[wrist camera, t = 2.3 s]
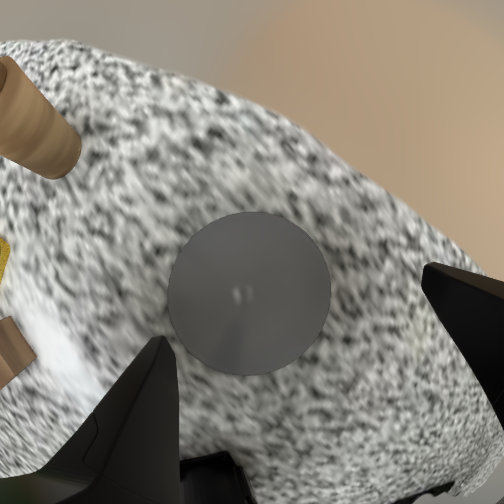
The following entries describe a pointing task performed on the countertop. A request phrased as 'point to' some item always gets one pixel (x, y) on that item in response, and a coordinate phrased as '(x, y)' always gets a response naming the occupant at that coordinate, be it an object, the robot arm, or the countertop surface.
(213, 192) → the countertop surface
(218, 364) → the slate coaster
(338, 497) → the countertop surface
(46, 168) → the brown cylinder
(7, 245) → the dish sponge
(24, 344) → the walnut block
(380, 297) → the countertop surface
